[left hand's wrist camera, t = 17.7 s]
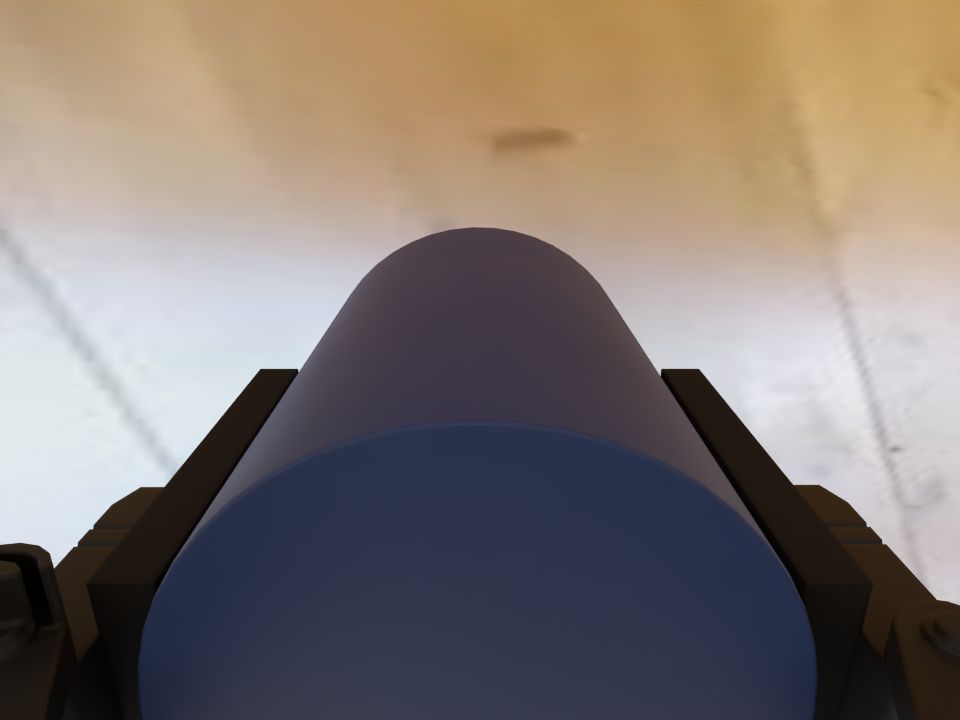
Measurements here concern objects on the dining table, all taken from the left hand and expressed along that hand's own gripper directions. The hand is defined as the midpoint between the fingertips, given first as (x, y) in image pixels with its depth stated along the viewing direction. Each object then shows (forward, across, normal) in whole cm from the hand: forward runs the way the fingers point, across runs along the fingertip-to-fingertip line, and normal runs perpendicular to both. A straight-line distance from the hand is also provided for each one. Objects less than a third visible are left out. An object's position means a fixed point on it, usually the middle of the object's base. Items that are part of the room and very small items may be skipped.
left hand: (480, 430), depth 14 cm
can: (+3, 0, 0) cm, 3 cm away
